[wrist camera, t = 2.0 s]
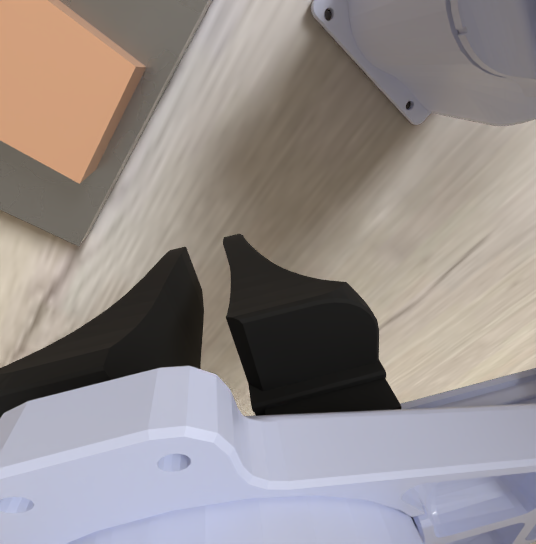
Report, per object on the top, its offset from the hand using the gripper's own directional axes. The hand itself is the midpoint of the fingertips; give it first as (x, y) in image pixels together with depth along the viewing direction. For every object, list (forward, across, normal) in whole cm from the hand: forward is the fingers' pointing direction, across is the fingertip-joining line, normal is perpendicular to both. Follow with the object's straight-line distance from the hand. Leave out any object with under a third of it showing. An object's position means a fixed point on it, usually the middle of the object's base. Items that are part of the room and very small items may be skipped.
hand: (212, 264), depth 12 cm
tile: (+8, +6, -7) cm, 12 cm away
